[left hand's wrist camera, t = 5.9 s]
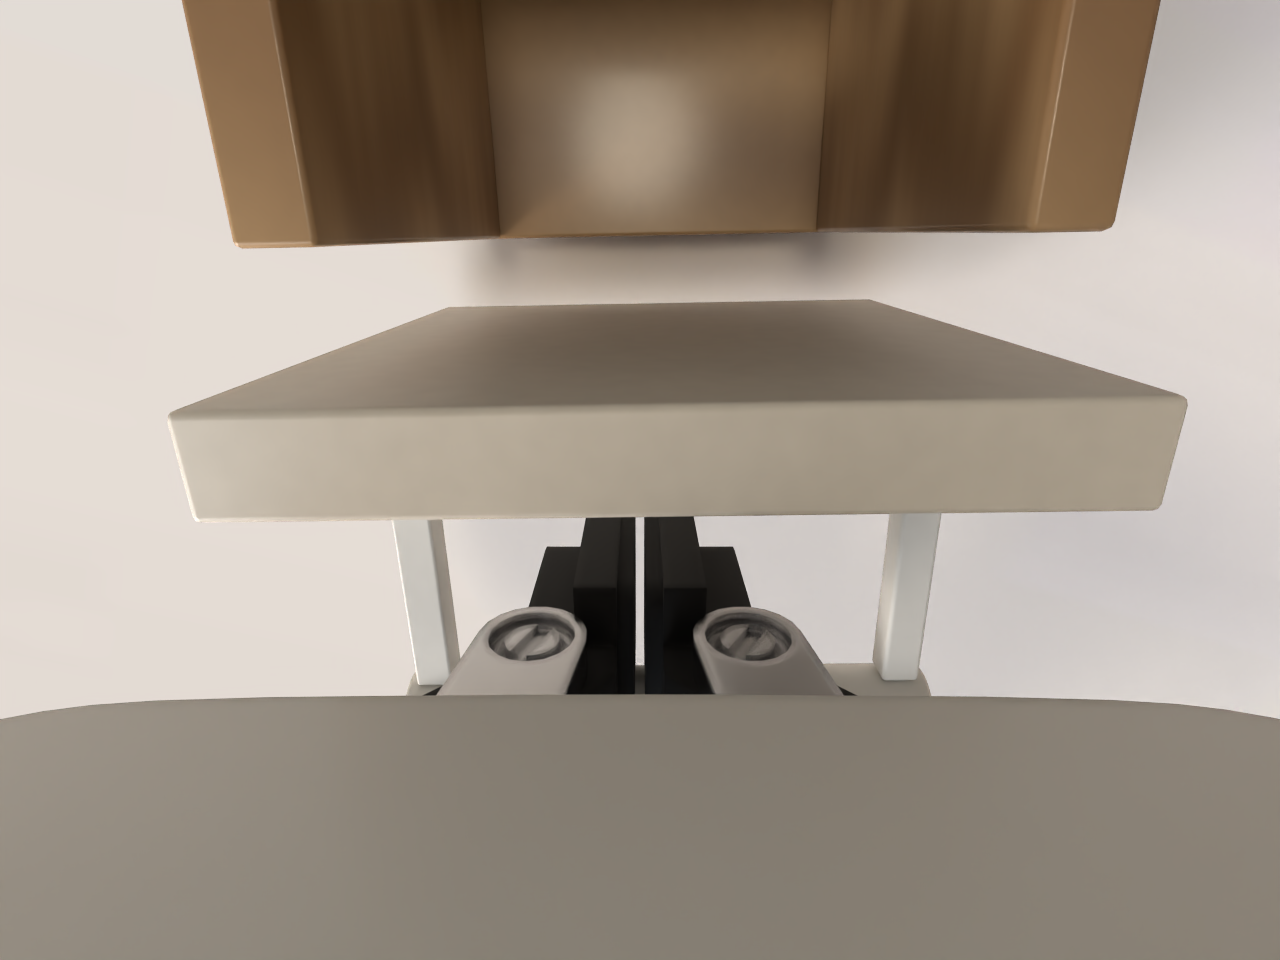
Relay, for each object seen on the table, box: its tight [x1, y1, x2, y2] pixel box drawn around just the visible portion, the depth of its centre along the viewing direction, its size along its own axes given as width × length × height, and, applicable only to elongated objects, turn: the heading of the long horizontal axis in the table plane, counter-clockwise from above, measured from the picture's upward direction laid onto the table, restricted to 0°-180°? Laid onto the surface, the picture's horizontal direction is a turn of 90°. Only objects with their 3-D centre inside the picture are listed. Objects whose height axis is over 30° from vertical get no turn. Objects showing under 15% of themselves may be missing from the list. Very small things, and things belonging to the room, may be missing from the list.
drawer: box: [167, 0, 1188, 696], centre depth 10 cm, size 21×10×10 cm, turn 1°
